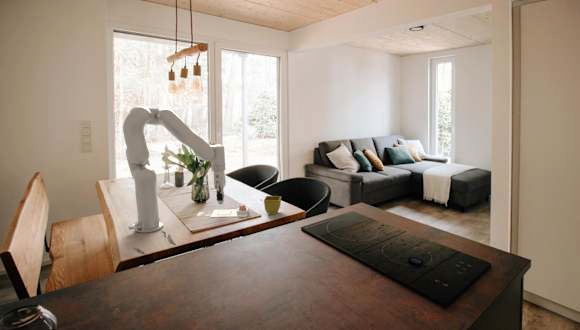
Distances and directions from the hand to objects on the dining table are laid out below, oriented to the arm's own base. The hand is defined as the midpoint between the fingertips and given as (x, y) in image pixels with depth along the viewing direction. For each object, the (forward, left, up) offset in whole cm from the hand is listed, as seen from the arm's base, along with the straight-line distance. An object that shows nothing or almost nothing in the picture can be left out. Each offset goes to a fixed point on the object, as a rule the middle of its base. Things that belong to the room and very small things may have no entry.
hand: (220, 199), depth 176 cm
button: (+7, -10, -7) cm, 14 cm away
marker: (0, 0, -3) cm, 3 cm away
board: (+3, -4, -9) cm, 10 cm away
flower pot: (+18, -23, -9) cm, 31 cm away
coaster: (-6, +7, -9) cm, 13 cm away
